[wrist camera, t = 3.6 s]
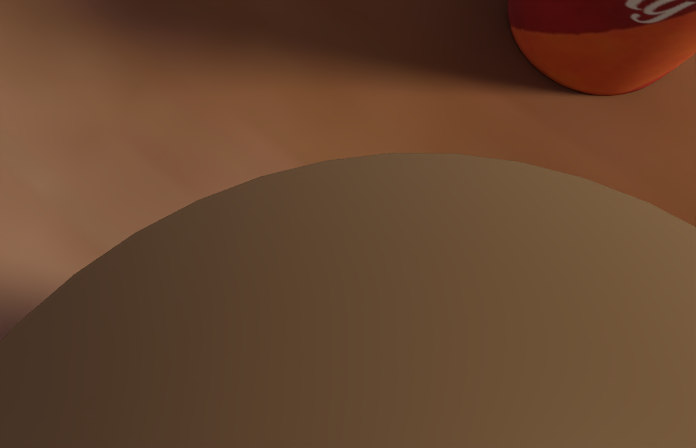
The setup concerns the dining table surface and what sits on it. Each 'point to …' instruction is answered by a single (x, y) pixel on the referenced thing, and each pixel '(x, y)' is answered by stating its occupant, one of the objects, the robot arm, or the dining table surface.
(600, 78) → the paper cup
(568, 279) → the pepper grinder
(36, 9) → the dining table surface
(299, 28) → the dining table surface
